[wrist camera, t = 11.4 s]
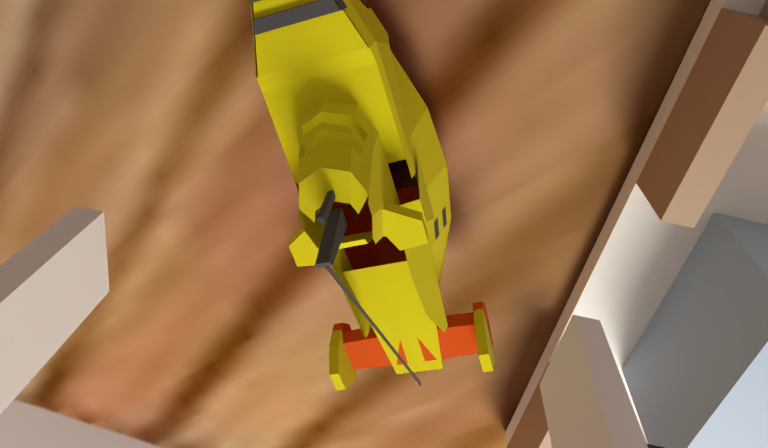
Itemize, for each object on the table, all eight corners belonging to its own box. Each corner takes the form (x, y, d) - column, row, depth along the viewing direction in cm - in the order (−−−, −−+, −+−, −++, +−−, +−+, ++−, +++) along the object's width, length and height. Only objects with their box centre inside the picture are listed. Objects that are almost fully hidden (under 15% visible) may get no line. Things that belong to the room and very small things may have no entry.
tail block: (714, 212, 22) (793, 307, 17) (822, 236, 22) (934, 338, 17) (621, 369, 27) (661, 481, 22) (711, 389, 27) (773, 505, 22)
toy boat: (366, 323, 28) (330, 506, 20) (225, -53, 20) (57, -16, 12) (491, 304, 27) (509, 493, 18) (394, -109, 19) (346, -114, 10)
